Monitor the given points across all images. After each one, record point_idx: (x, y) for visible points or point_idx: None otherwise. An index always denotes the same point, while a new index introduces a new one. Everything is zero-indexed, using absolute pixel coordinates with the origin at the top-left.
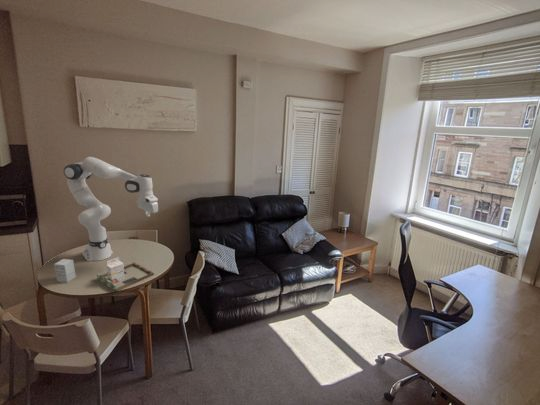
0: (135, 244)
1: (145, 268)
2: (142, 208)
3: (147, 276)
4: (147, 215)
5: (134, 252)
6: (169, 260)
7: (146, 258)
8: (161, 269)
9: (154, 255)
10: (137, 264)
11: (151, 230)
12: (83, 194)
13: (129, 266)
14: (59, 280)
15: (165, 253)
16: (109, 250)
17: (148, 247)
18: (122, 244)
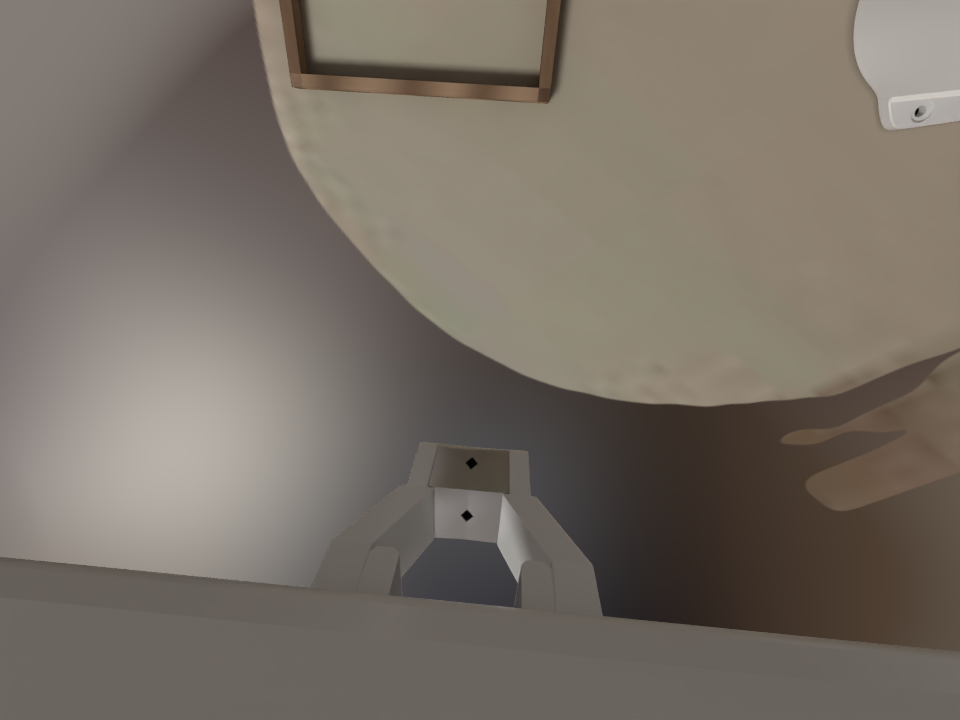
0: (800, 326)
1: (395, 92)
2: (677, 670)
3: (285, 20)
4: (436, 460)
5: (708, 238)
6: (405, 296)
7: (552, 226)
8: (333, 179)
9: (542, 288)
10: (502, 96)
11: (842, 506)
12: None
13: (543, 39)
14: None
15: (506, 345)
16: (915, 62)
17: (673, 344)
18: (906, 273)
